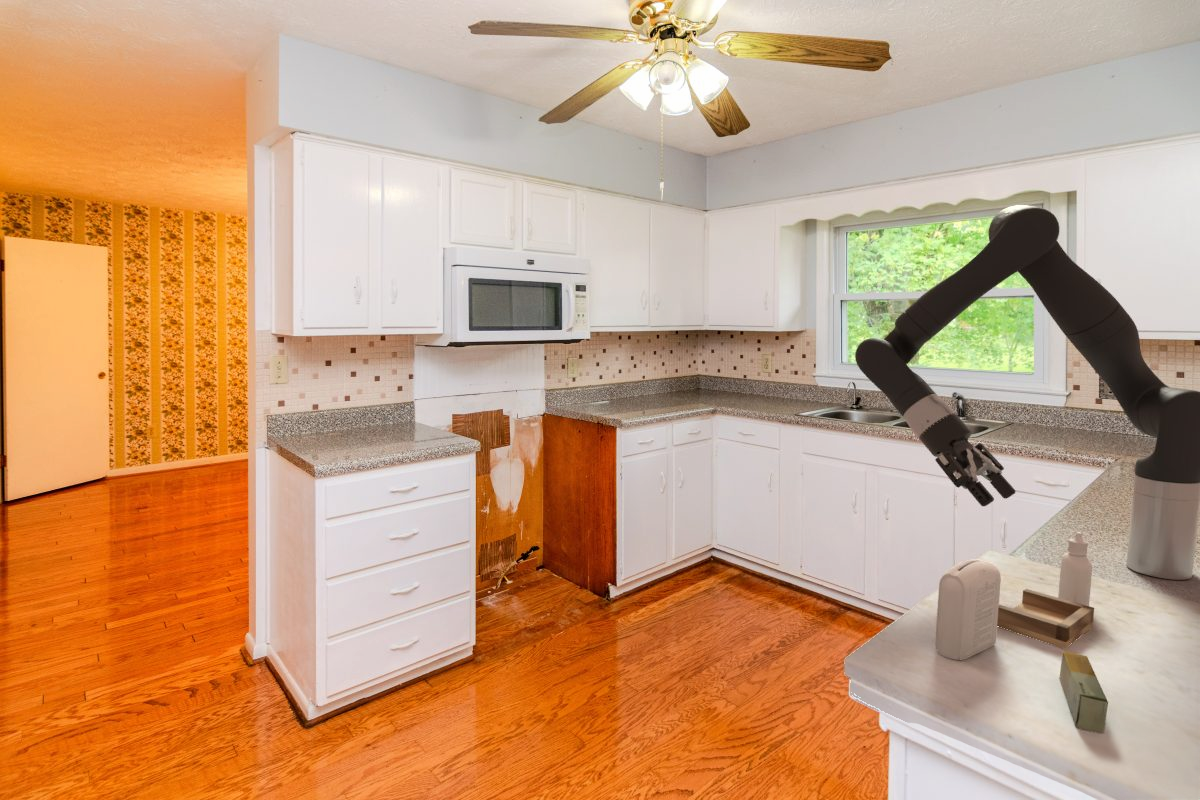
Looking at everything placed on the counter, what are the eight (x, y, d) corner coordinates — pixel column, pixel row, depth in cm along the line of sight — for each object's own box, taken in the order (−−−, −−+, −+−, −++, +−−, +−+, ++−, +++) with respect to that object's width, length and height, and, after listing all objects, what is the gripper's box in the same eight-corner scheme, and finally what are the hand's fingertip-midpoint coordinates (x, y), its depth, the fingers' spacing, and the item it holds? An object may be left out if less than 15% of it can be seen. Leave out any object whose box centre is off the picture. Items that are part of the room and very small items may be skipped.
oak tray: (1024, 607, 106) (1026, 588, 105) (1092, 627, 98) (1094, 607, 98) (994, 626, 99) (996, 606, 99) (1065, 649, 92) (1066, 628, 91)
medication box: (1105, 737, 73) (1109, 702, 72) (1075, 729, 74) (1079, 695, 73) (1083, 684, 83) (1087, 653, 83) (1057, 678, 85) (1061, 648, 84)
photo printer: (969, 633, 97) (975, 550, 95) (1000, 644, 93) (1007, 559, 92) (929, 652, 91) (934, 564, 90) (961, 665, 88) (967, 574, 86)
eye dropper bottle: (1092, 604, 107) (1098, 531, 105) (1087, 615, 102) (1093, 539, 101) (1059, 597, 110) (1065, 525, 108) (1053, 607, 105) (1059, 533, 104)
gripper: (932, 415, 115) (1000, 494, 107) (970, 408, 123) (1035, 481, 115) (900, 441, 119) (963, 518, 112) (939, 433, 128) (1000, 504, 120)
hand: (1000, 499), depth 113 cm, fingers open, 8 cm apart
